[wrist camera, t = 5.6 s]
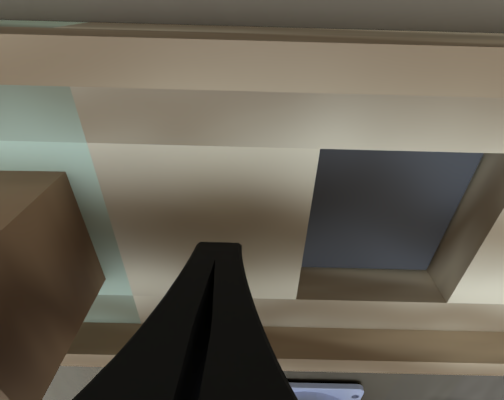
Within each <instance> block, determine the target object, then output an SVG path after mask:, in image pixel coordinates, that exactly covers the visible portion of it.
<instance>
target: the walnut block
mask: <svg viewBox="0 0 504 400" xmlns="http://www.w3.org/2000/svg"><path fill="white" fill-rule="evenodd" d="M105 280H106V278H105V275H104V273H103V270H102V267H101V265H100V262H99V259H98V257H97V254H96V252H95V249H94V246H93V244H92V241H91V238H90V236H89V233H88V230H87V228H86V225H85V222H84V220H83V217H82V214H81V212H80V209H79V206H78V204H77V201H76V198H75V196H74V193H73V190H72V188H71V185H70V182H69V180H68V177H67V174H66V172H60V171H0V400H42V398H43V397H44V395H45V393H46V391H47V389H48V387H49V385H50V383H51V382H52V380H53V378H54V376H55V374H56V372H57V370H58V368H59V366H60V365H61V363H62V361H63V359H64V357H65V355H66V353H67V351H68V350H69V348H70V346H71V344H72V342H73V340H74V338H75V336H76V334H77V333H78V331H79V329H80V327H81V325H82V323H83V321H84V319H85V318H86V316H87V314H88V312H89V310H90V308H91V306H92V304H93V302H94V301H95V299H96V297H97V295H98V293H99V291H100V289H101V287H102V286H103V284H104V282H105Z"/></svg>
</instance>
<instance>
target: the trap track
mask: <svg viewBox="0 0 504 400" xmlns="http://www.w3.org/2000/svg"><path fill="white" fill-rule="evenodd" d="M0 171H60V172H66V174H67V177H68V180H69V182H70V185H71V188H72V190H73V193H74V196H75V198H76V201H77V204H78V206H79V209H80V212H81V214H82V217H83V220H84V222H85V225H86V228H87V230H88V233H89V236H90V238H91V241H92V244H93V246H94V249H95V252H96V254H97V257H98V259H99V262H100V265H101V267H102V270H103V273H104V275H105V278H106V280H105V282H104V284H103V286H102V287H101V289H100V291H99V293H98V295H97V297H96V299H95V301H94V302H93V304H92V306H91V308H90V310H89V312H88V314H87V316H86V318H85V319H84V321H83V323H82V325H81V327H80V329H79V331H78V333H77V334H76V336H75V338H74V340H73V342H72V344H71V346H70V348H69V350H68V351H67V353H66V355H65V357H64V359H63V361H62V363H61V365H60V366H86V367H105V366H106V365H107V364H108V363H109V362H110V361H111V360H112V359H113V358H114V356H115V355H116V354H117V353H118V352H119V351H120V350H121V349H122V348H123V346H124V345H125V344H126V343H127V342H128V341H129V340H130V339H131V337H132V336H133V335H134V334H135V333H136V331H137V330H138V329H139V328H140V327H141V325H142V324H143V323H144V322H145V320H146V319H147V318H148V317H149V315H150V314H151V313H152V311H153V310H154V309H155V308H156V306H157V305H158V304H159V302H160V301H161V300H162V298H163V297H164V296H165V294H166V293H167V291H168V290H169V288H170V287H171V286H172V284H173V283H174V281H175V280H176V278H177V277H178V275H179V274H180V272H181V271H182V269H183V268H184V266H185V264H186V263H187V261H188V259H189V258H190V256H191V254H192V252H193V251H194V249H195V247H196V245H197V244H198V243H199V242H229V243H239V244H240V245H242V259H243V265H244V269H245V274H246V278H247V282H248V285H249V289H250V292H251V295H252V298H253V301H254V304H255V307H256V310H257V313H258V315H259V318H260V320H261V323H262V326H263V328H264V331H265V333H266V335H267V338H268V340H269V342H270V345H271V347H272V349H273V351H274V353H275V356H276V358H277V360H278V362H279V364H280V366H281V368H282V370H283V371H307V372H351V373H395V374H440V375H484V376H504V33H470V32H433V31H396V30H359V29H322V28H285V27H249V26H212V25H175V24H138V23H101V22H64V21H27V20H0Z"/></svg>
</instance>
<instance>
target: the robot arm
mask: <svg viewBox="0 0 504 400" xmlns="http://www.w3.org/2000/svg"><path fill="white" fill-rule="evenodd" d="M363 394H364V389H363V386H362V385H360V384H341V383H297V382H288V380H287V378H286V376H285V374H284V372H283V370H282V368H281V366H280V364H279V362H278V360H277V358H276V356H275V353H274V351H273V349H272V347H271V345H270V342H269V340H268V338H267V335H266V333H265V331H264V328H263V326H262V323H261V320H260V318H259V315H258V313H257V310H256V307H255V304H254V301H253V298H252V295H251V292H250V289H249V285H248V282H247V278H246V274H245V269H244V265H243V259H242V245H240V244H239V243H229V242H199V243H198V244H197V245H196V247H195V249H194V251H193V252H192V254H191V256H190V258H189V259H188V261H187V263H186V264H185V266H184V268H183V269H182V271H181V272H180V274H179V275H178V277H177V278H176V280H175V281H174V283H173V284H172V286H171V287H170V288H169V290H168V291H167V293H166V294H165V296H164V297H163V298H162V300H161V301H160V302H159V304H158V305H157V306H156V308H155V309H154V310H153V311H152V313H151V314H150V315H149V317H148V318H147V319H146V320H145V322H144V323H143V324H142V325H141V327H140V328H139V329H138V330H137V331H136V333H135V334H134V335H133V336H132V337H131V339H130V340H129V341H128V342H127V343H126V344H125V345H124V346H123V348H122V349H121V350H120V351H119V352H118V353H117V354H116V355H115V356H114V358H113V359H112V360H111V361H110V362H109V363H108V364H107V365H106V366H105V367H104V368H103V369H102V370H101V371H100V372H99V373H98V374H97V375H96V376H95V377H94V378H93V379H92V381H91V382H90V383H89V384H88V385H87V386H86V387H85V388H84V389H83V390H82V391H80V392H79V393H78V394H77V395H76V396H75V397H74V398H73V399H72V400H361V398H362V396H363Z"/></svg>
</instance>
